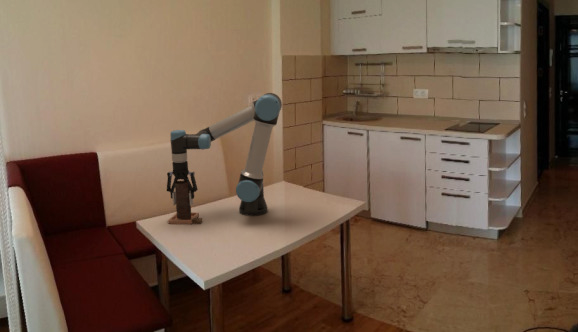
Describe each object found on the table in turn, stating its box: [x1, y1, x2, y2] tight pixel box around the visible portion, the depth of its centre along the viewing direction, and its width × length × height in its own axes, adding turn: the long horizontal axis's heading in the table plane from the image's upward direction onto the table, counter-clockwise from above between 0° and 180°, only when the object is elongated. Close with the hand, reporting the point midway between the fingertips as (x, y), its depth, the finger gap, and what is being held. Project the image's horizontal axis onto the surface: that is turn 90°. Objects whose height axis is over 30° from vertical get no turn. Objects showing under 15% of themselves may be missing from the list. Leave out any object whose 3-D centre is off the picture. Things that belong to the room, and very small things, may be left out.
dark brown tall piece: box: [174, 180, 192, 219], centre depth 264 cm, size 8×7×20 cm
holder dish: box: [167, 211, 200, 225], centre depth 266 cm, size 12×13×2 cm
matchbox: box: [191, 217, 203, 225], centre depth 261 cm, size 5×3×2 cm, turn 82°
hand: (183, 204), depth 264 cm, fingers open, 8 cm apart
